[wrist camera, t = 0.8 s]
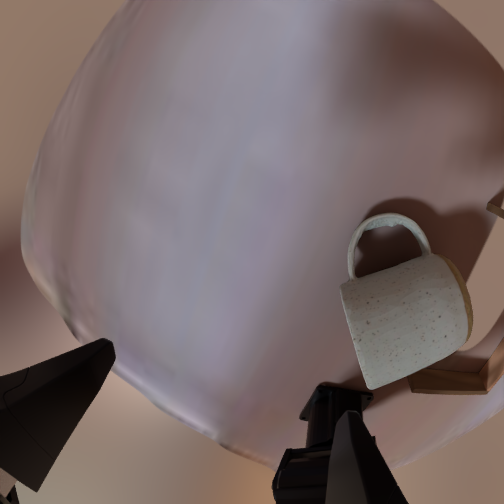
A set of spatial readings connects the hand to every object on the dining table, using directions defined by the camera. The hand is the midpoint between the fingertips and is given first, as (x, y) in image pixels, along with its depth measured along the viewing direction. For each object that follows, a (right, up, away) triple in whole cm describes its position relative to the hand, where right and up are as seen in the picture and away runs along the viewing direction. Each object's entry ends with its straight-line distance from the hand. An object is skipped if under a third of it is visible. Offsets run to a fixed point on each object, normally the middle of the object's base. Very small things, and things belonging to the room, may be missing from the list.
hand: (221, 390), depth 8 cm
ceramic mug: (+11, +3, +11) cm, 16 cm away
